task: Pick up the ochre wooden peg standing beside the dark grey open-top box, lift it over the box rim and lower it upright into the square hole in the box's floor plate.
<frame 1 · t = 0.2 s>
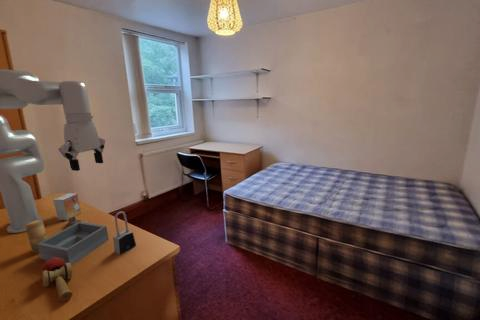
hand: (88, 166, 86), 31 cm above the cabinet, tool pointing down, fingers open, 9 cm apart
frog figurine: (75, 228, 105), on the cabinet
small box: (70, 216, 115), on the cabinet
peg box: (77, 248, 89), on the cabinet
peg: (41, 249, 89), on the cabinet
padlock: (125, 248, 89), on the cabinet
kendama: (60, 285, 72), on the cabinet
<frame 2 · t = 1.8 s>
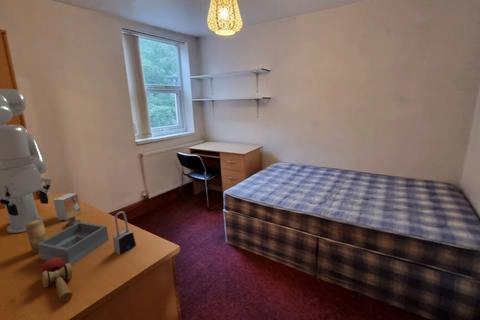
hand: (30, 208, 85), 17 cm above the cabinet, tool pointing down, fingers open, 9 cm apart
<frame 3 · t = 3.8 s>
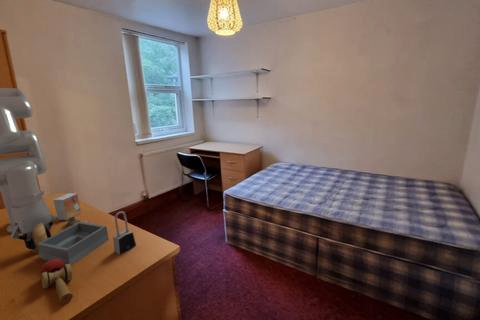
hand: (39, 243, 89), 2 cm above the cabinet, tool pointing down, fingers closed on peg, 5 cm apart
peg: (41, 249, 89), on the cabinet, touching gripper
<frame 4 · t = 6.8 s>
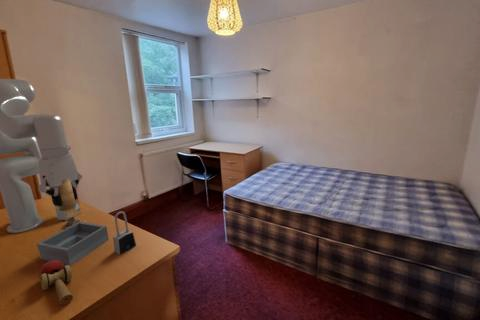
hand: (66, 201, 84), 19 cm above the cabinet, tool pointing down, fingers closed on peg, 5 cm apart
peg: (67, 207, 85), point 17 cm above the cabinet, touching gripper
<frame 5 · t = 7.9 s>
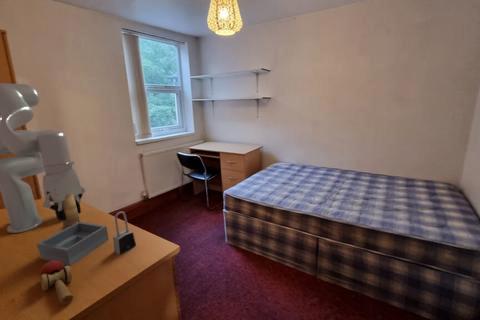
hand: (69, 215, 86), 14 cm above the cabinet, tool pointing down, fingers closed on peg, 5 cm apart
peg: (71, 221, 86), point 11 cm above the cabinet, touching gripper
when the fingers open (3 cm above the cabinet, at t = 10.1 s): peg stays where it is, resting in peg box.
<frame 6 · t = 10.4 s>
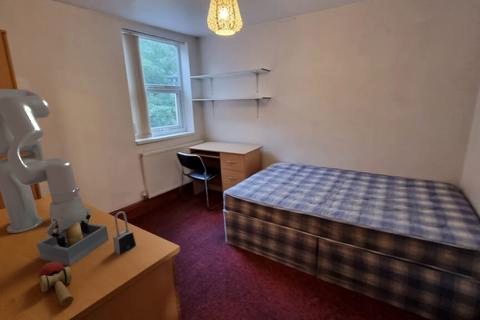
hand: (74, 239, 88), 4 cm above the cabinet, tool pointing down, fingers open, 8 cm apart
peg: (77, 248, 89), resting in peg box
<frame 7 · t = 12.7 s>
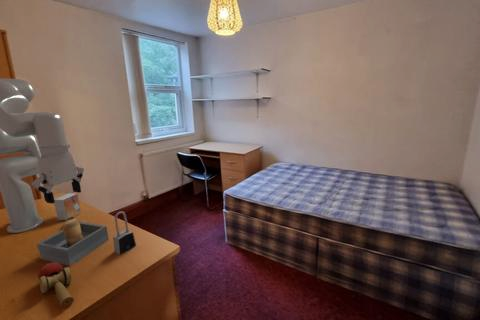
hand: (64, 197, 85), 21 cm above the cabinet, tool pointing down, fingers open, 9 cm apart
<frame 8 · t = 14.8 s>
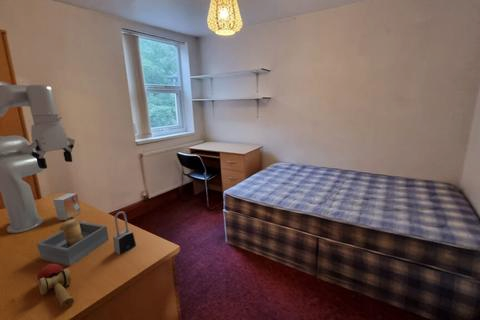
hand: (56, 164, 91), 30 cm above the cabinet, tool pointing down, fingers open, 9 cm apart
at the end: peg 0.0 cm off-centre on the peg box, point 0.0 cm above the peg box's base; peg tilted 2°; the gripper is holding nothing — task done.
